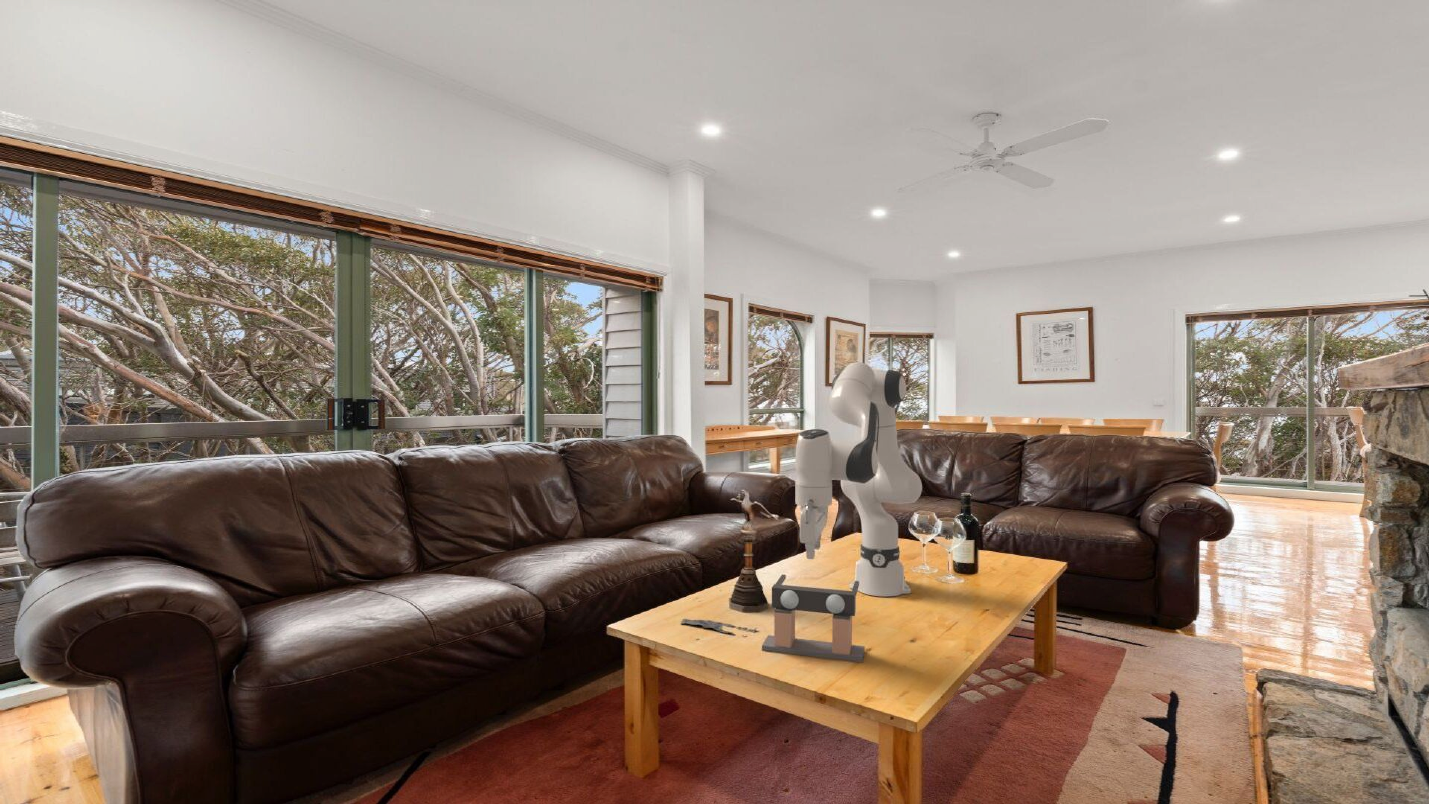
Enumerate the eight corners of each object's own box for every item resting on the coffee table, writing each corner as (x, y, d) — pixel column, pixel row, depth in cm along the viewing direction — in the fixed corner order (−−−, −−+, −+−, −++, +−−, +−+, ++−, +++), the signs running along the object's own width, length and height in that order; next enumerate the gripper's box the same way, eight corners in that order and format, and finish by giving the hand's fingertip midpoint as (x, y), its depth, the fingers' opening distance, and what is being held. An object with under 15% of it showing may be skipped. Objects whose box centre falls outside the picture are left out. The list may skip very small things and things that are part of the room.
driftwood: (676, 626, 178) (676, 618, 178) (690, 618, 184) (690, 610, 184) (745, 642, 167) (745, 634, 167) (757, 633, 173) (757, 625, 173)
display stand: (768, 639, 167) (768, 600, 166) (864, 651, 159) (864, 610, 159) (761, 650, 160) (761, 609, 160) (862, 662, 153) (862, 620, 153)
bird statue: (751, 591, 206) (751, 480, 205) (785, 601, 197) (785, 485, 196) (716, 605, 193) (716, 486, 192) (750, 615, 185) (751, 491, 184)
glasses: (782, 592, 173) (782, 573, 173) (859, 599, 168) (859, 579, 167) (771, 608, 160) (771, 588, 160) (854, 617, 155) (854, 596, 154)
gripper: (820, 505, 148) (820, 565, 148) (831, 490, 167) (831, 544, 168) (793, 503, 150) (793, 563, 150) (807, 489, 169) (807, 542, 170)
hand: (813, 553), depth 159 cm, fingers open, 8 cm apart
